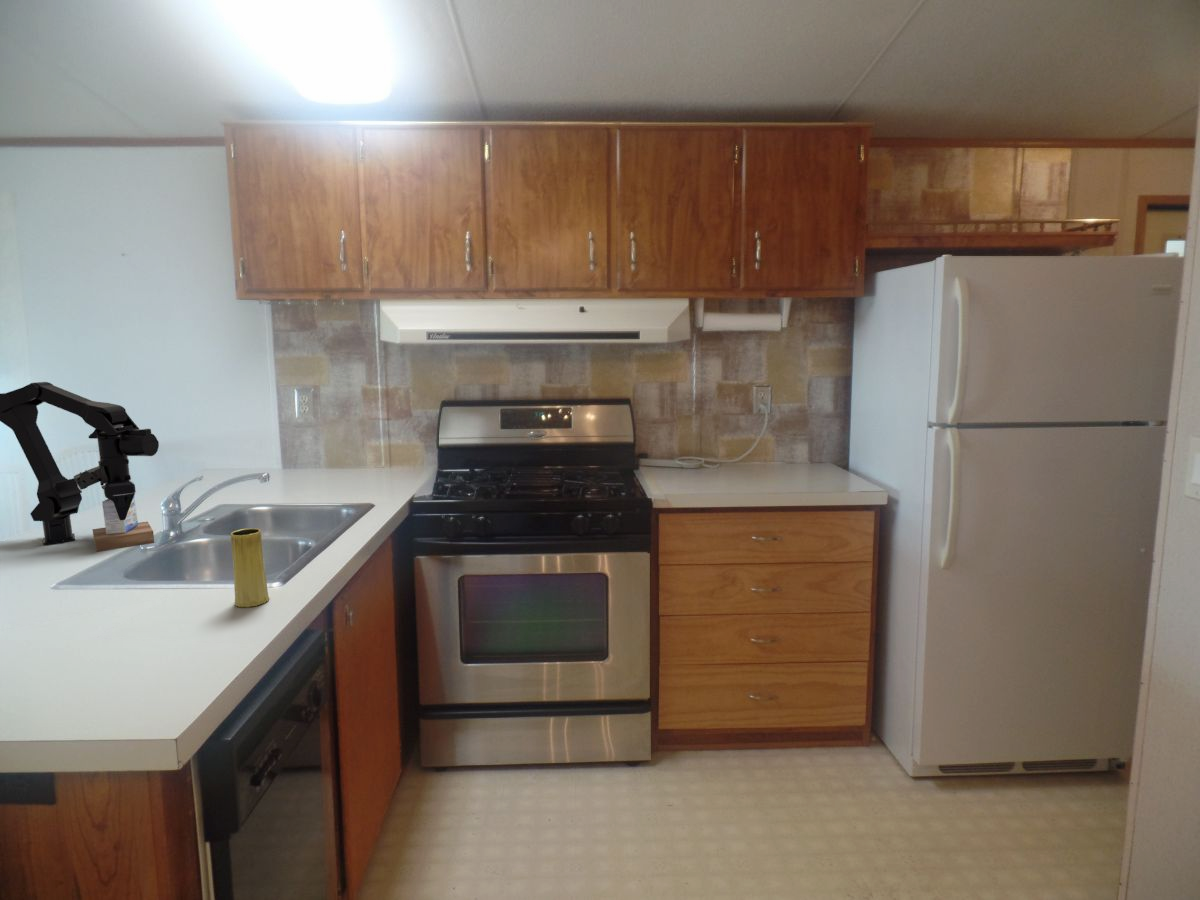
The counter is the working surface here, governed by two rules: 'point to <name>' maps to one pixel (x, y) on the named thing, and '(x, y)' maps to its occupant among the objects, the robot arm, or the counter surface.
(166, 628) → the counter surface
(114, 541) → the block
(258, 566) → the vase
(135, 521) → the medicine box
